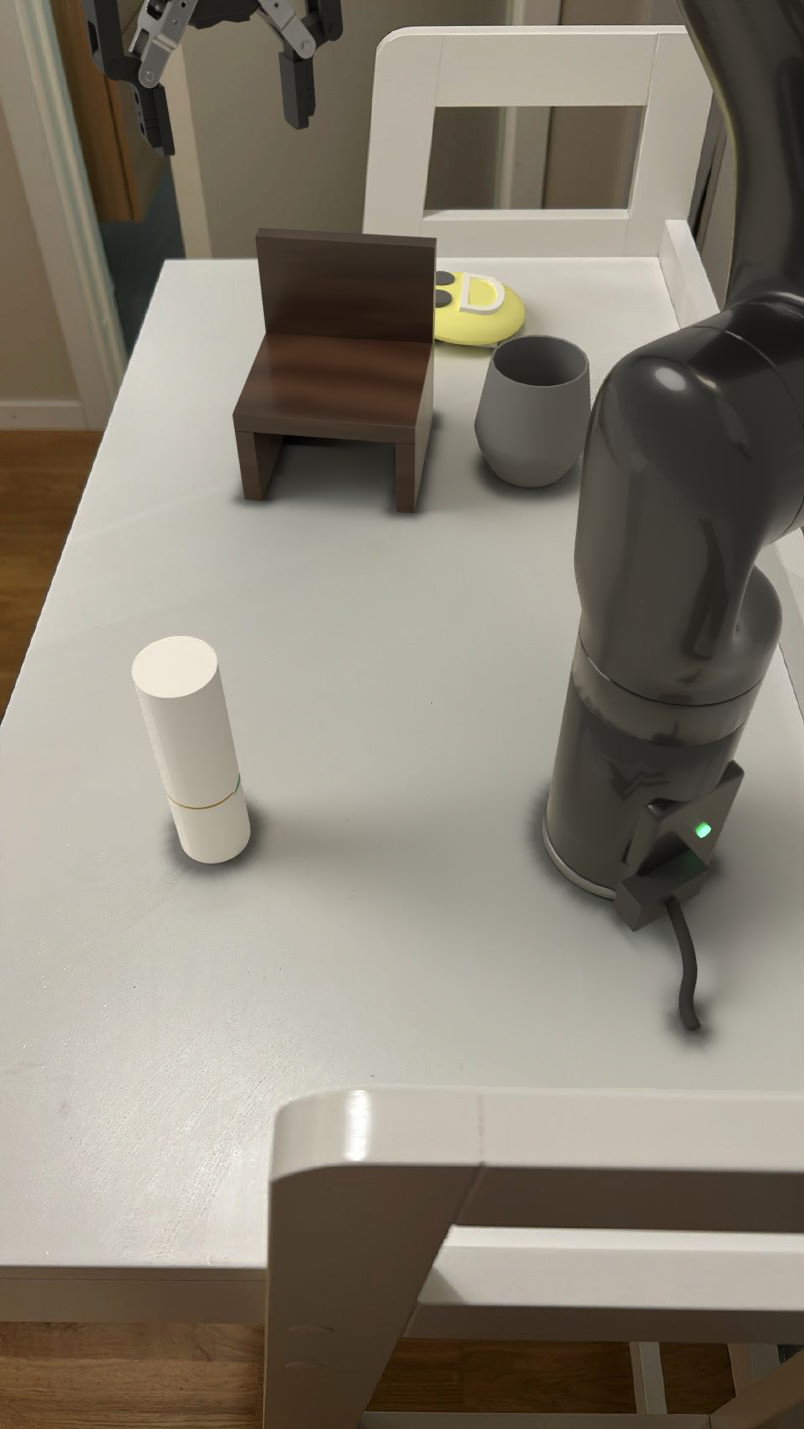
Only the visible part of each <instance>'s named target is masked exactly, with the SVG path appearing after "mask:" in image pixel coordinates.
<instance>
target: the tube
mask: <svg viewBox="0 0 804 1429" xmlns="http://www.w3.org/2000/svg"><path fill="white" fill-rule="evenodd" d="M219 666H220V665H219V661H218V657H217V653H216V651H215V650H214V649H213V647H212V646H211V645H210V644H208V642H206V641H204V640H201V639H199V638H197V637H193V636H189V635H174V636H168V637H163V638H161V639H157V640H156V641H153V642H151V643H150V644H148V645H146V646H145V647H144V648H142V650H140V652H138V654H137V655H136V656H135V658H134V660H133V663H132V666H131V676H132V680H133V684H134V688H135V690H136V694H137V696H138V700H139V704H140V708H141V711H142V714H143V717H144V721H145V725H146V729H147V732H148V735H149V739H150V743H151V746H152V749H153V752H154V757H155V760H156V763H157V766H158V770H159V773H160V777H161V780H162V783H163V787H164V790H165V794H166V798H167V800H168V803H169V808H170V811H171V814H172V817H173V821H174V824H175V829H176V831H177V835H178V838H179V841H180V842H179V843H180V845H181V848H182V849H183V851H184V853H186V855H187V856H188V857H190V859H192V860H195V861H197V862H199V863H203V864H220V863H224V862H227V861H229V860H231V859H234V858H235V857H237V856H238V855H239V854H240V853H241V852H243V850H244V849H245V848H246V846H247V845H248V843H249V841H250V838H251V833H252V832H251V822H250V819H249V813H248V808H247V803H246V799H245V798H246V797H245V792H244V787H243V783H242V778H241V773H240V767H239V763H238V756H237V753H236V748H235V742H234V737H233V732H232V728H231V720H230V716H229V711H228V707H227V701H226V695H225V691H224V686H223V681H222V675H221V671H220V667H219Z"/></svg>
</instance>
